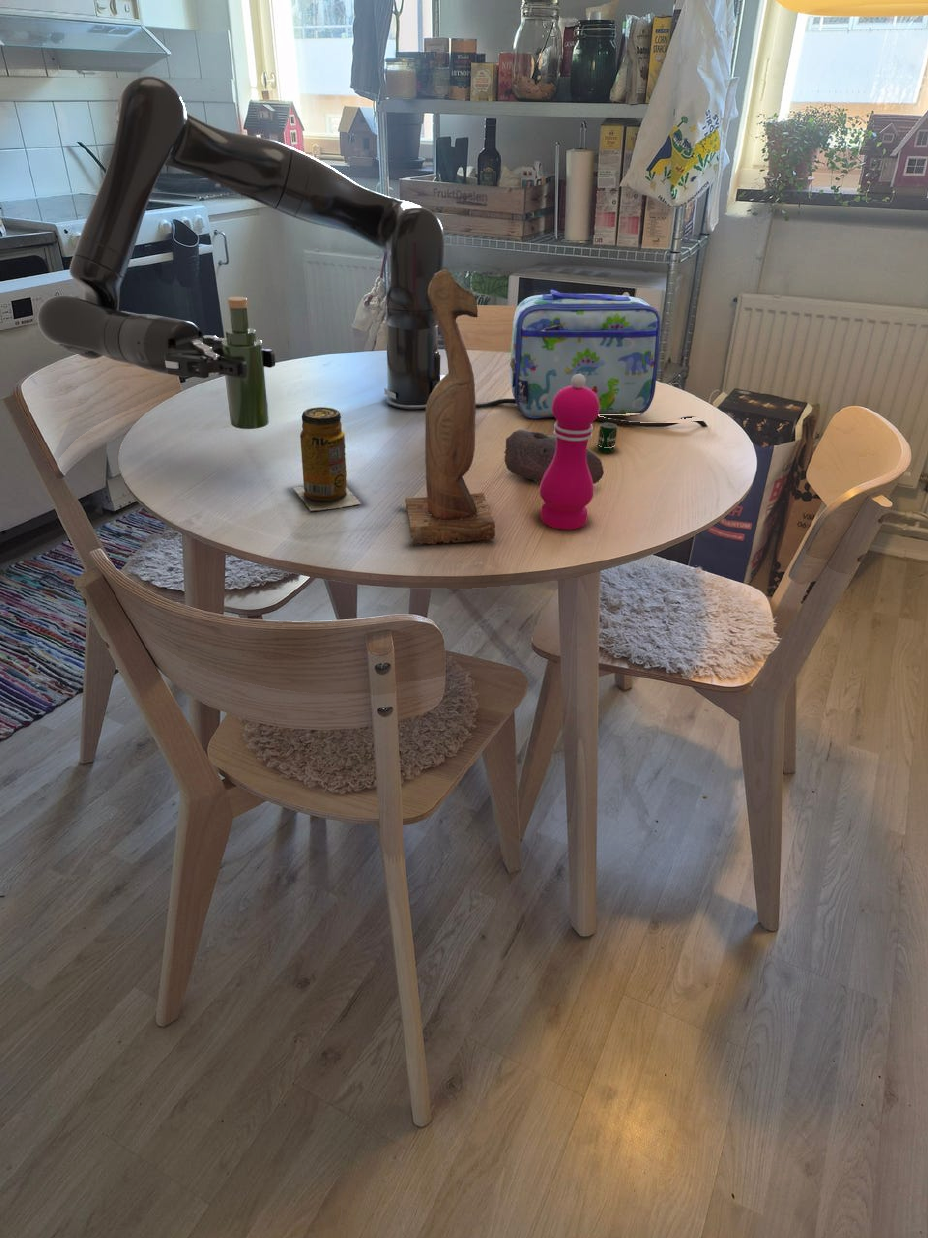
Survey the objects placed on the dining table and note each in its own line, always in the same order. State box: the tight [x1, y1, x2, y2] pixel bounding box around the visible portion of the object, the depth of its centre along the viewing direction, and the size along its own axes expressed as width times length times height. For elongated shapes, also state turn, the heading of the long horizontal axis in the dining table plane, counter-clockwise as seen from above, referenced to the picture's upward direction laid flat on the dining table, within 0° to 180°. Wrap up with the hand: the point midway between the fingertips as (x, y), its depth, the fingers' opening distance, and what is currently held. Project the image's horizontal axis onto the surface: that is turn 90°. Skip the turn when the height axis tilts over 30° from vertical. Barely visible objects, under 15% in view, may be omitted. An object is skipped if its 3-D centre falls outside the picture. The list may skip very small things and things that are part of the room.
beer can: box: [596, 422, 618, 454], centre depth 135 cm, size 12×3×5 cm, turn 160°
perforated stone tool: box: [503, 429, 605, 485], centre depth 122 cm, size 15×5×7 cm, turn 66°
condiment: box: [293, 406, 361, 512], centre depth 113 cm, size 7×8×12 cm
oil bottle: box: [222, 296, 270, 430], centre depth 110 cm, size 5×5×16 cm
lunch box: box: [509, 289, 662, 419], centre depth 146 cm, size 26×11×21 cm, turn 92°
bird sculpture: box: [404, 268, 496, 547], centre depth 101 cm, size 11×12×32 cm
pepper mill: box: [539, 374, 599, 531], centre depth 107 cm, size 7×7×20 cm
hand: (259, 364), depth 109 cm, fingers closed on oil bottle, 5 cm apart
